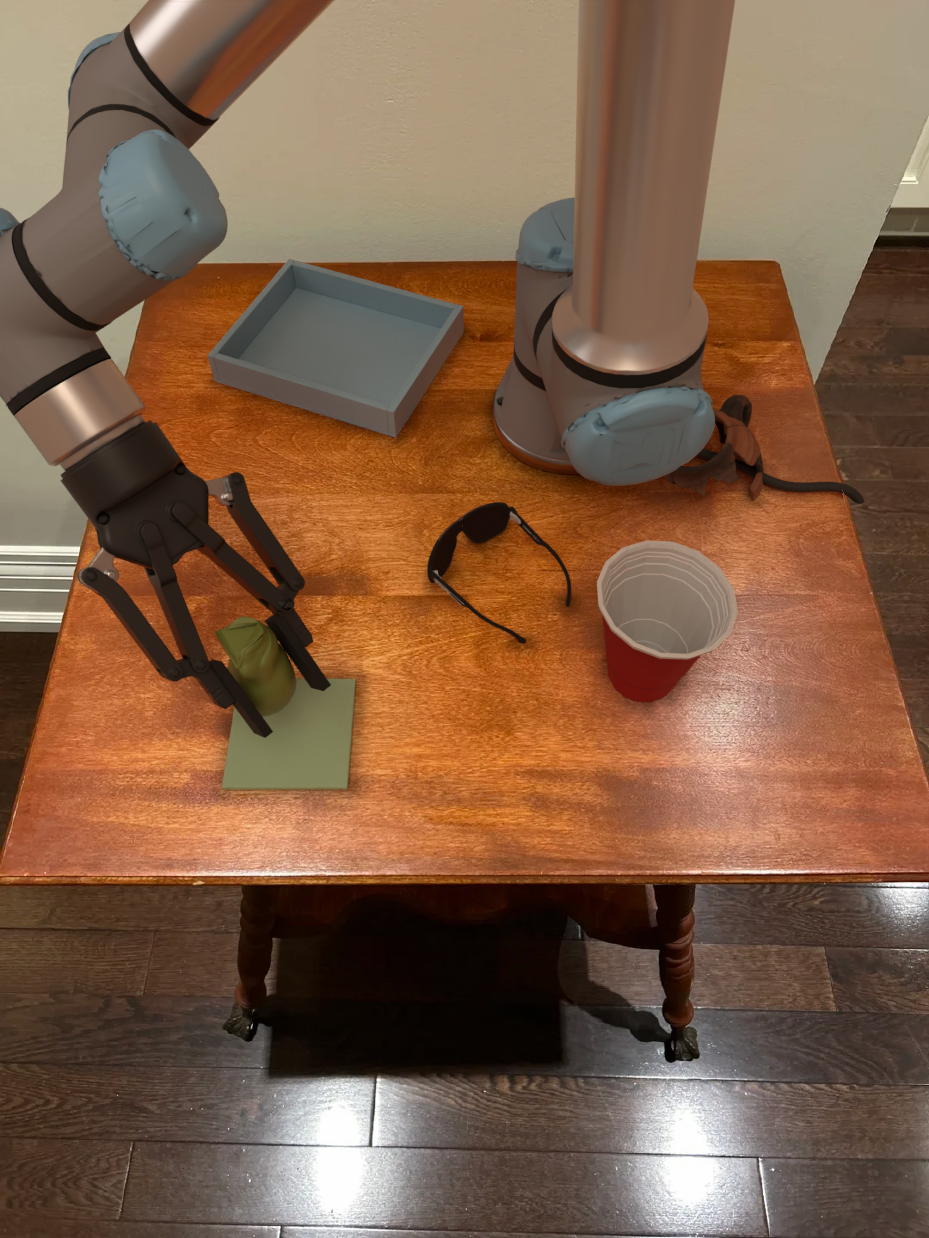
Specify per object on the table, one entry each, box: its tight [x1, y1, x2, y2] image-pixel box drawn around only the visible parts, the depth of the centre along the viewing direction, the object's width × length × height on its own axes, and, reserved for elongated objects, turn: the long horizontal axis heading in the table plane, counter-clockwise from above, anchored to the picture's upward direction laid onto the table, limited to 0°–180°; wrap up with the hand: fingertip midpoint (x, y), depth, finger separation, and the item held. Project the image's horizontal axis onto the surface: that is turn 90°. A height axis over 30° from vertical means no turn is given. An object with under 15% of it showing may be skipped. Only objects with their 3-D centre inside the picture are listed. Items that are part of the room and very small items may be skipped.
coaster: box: [221, 678, 357, 791], centre depth 79 cm, size 10×10×1 cm
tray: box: [207, 258, 465, 439], centre depth 103 cm, size 22×18×4 cm
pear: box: [214, 615, 297, 717], centre depth 72 cm, size 6×5×10 cm
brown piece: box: [664, 394, 765, 502], centre depth 93 cm, size 12×10×8 cm
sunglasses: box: [426, 501, 572, 644], centre depth 85 cm, size 10×12×5 cm
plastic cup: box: [596, 540, 739, 703], centre depth 77 cm, size 11×11×12 cm
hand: (292, 708), depth 72 cm, fingers closed on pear, 5 cm apart
